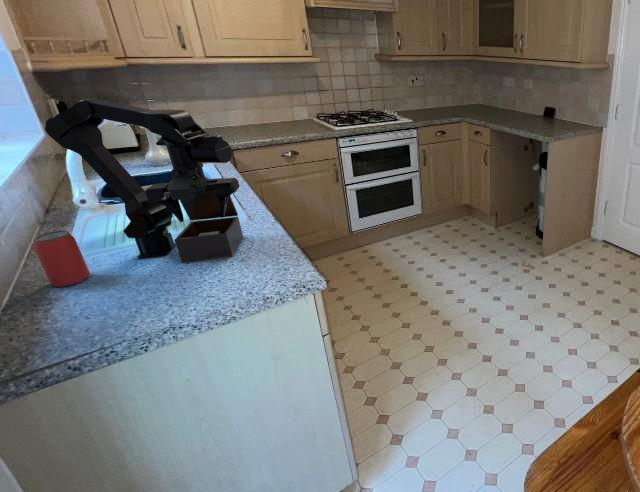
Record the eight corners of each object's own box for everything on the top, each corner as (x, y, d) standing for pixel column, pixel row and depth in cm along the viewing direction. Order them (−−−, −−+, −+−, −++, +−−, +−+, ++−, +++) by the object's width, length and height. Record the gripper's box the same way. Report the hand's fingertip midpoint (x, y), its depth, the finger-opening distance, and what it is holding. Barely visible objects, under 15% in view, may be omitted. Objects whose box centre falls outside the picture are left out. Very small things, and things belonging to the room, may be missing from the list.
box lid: (222, 179, 108) (225, 168, 111) (170, 183, 104) (175, 172, 108) (237, 215, 116) (240, 204, 120) (190, 220, 113) (194, 209, 116)
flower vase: (190, 162, 192) (175, 108, 183) (141, 170, 178) (121, 113, 169) (180, 157, 199) (165, 106, 190) (132, 165, 185) (113, 110, 176)
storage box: (232, 256, 109) (226, 234, 106) (181, 263, 105) (174, 239, 102) (243, 237, 119) (238, 216, 117) (197, 242, 116) (191, 221, 113)
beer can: (56, 291, 92) (34, 244, 88) (47, 282, 95) (26, 236, 91) (95, 278, 97) (75, 233, 93) (85, 270, 101) (67, 226, 96)
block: (198, 255, 107) (194, 240, 106) (204, 247, 111) (199, 233, 110) (218, 252, 109) (214, 237, 107) (223, 245, 113) (219, 231, 111)
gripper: (123, 174, 91) (146, 236, 97) (220, 167, 97) (236, 226, 103) (145, 162, 100) (165, 219, 106) (232, 156, 107) (246, 211, 112)
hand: (203, 219), depth 107 cm, fingers open, 9 cm apart
